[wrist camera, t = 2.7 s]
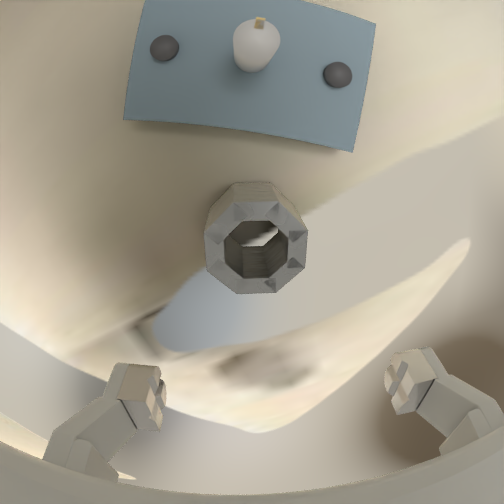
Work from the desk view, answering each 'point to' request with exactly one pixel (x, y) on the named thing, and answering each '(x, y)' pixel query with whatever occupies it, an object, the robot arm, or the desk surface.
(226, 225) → the hub
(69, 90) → the desk surface
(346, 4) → the desk surface
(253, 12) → the pillow block
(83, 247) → the desk surface
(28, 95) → the desk surface
